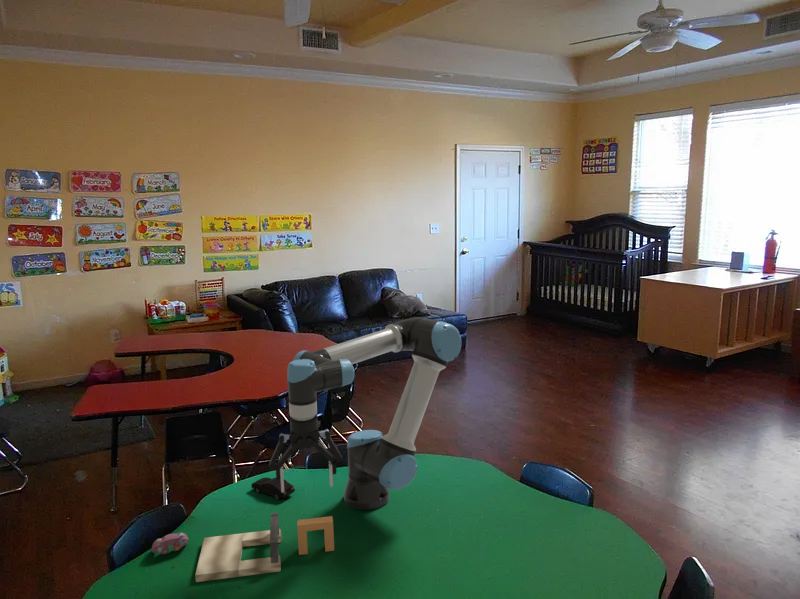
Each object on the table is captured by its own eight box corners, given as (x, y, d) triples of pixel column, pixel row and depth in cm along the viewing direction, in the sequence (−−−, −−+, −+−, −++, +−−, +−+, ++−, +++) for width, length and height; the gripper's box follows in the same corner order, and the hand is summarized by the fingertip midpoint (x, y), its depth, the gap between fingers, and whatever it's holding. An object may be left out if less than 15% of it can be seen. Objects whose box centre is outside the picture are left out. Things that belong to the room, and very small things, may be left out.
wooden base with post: (281, 534, 178) (279, 510, 177) (280, 571, 161) (279, 544, 159) (204, 544, 174) (202, 518, 173) (195, 582, 157) (193, 554, 155)
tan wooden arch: (333, 544, 173) (332, 516, 171) (334, 550, 170) (333, 521, 168) (298, 548, 171) (297, 520, 169) (298, 555, 168) (297, 525, 166)
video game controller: (153, 562, 168) (152, 547, 165) (151, 548, 172) (150, 534, 168) (189, 552, 173) (189, 538, 169) (187, 539, 176) (187, 524, 172)
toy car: (263, 484, 211) (262, 470, 210) (296, 495, 202) (296, 481, 202) (249, 491, 205) (248, 478, 204) (283, 503, 197) (282, 489, 196)
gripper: (347, 407, 170) (349, 476, 174) (257, 415, 165) (262, 486, 169) (350, 416, 163) (352, 488, 166) (256, 425, 158) (261, 498, 162)
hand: (307, 487), depth 168 cm, fingers open, 13 cm apart
